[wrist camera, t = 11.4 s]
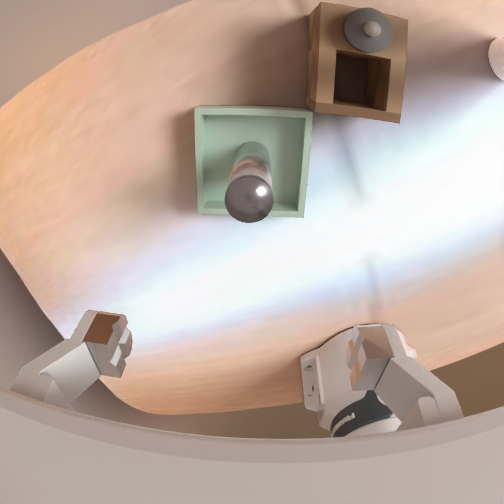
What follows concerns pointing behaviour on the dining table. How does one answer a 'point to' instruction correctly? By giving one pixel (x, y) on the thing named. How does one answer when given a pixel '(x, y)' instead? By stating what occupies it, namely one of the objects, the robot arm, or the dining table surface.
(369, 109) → the tensioner block
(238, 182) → the pin
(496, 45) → the white tall cup
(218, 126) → the tray
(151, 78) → the dining table surface
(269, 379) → the dining table surface
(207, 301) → the dining table surface
